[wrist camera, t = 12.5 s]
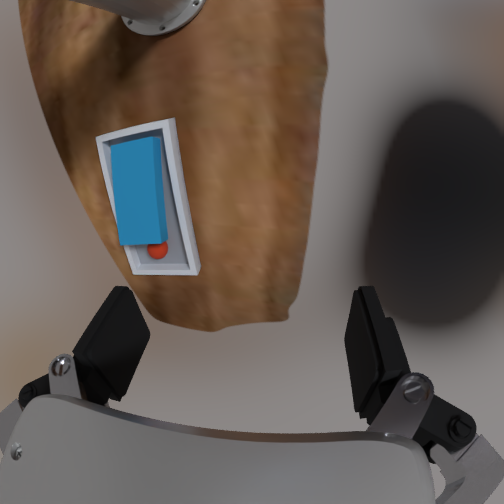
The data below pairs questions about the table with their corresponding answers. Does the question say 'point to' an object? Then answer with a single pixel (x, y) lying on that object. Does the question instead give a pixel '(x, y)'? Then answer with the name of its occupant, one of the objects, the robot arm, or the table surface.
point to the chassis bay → (175, 197)
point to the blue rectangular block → (140, 195)
